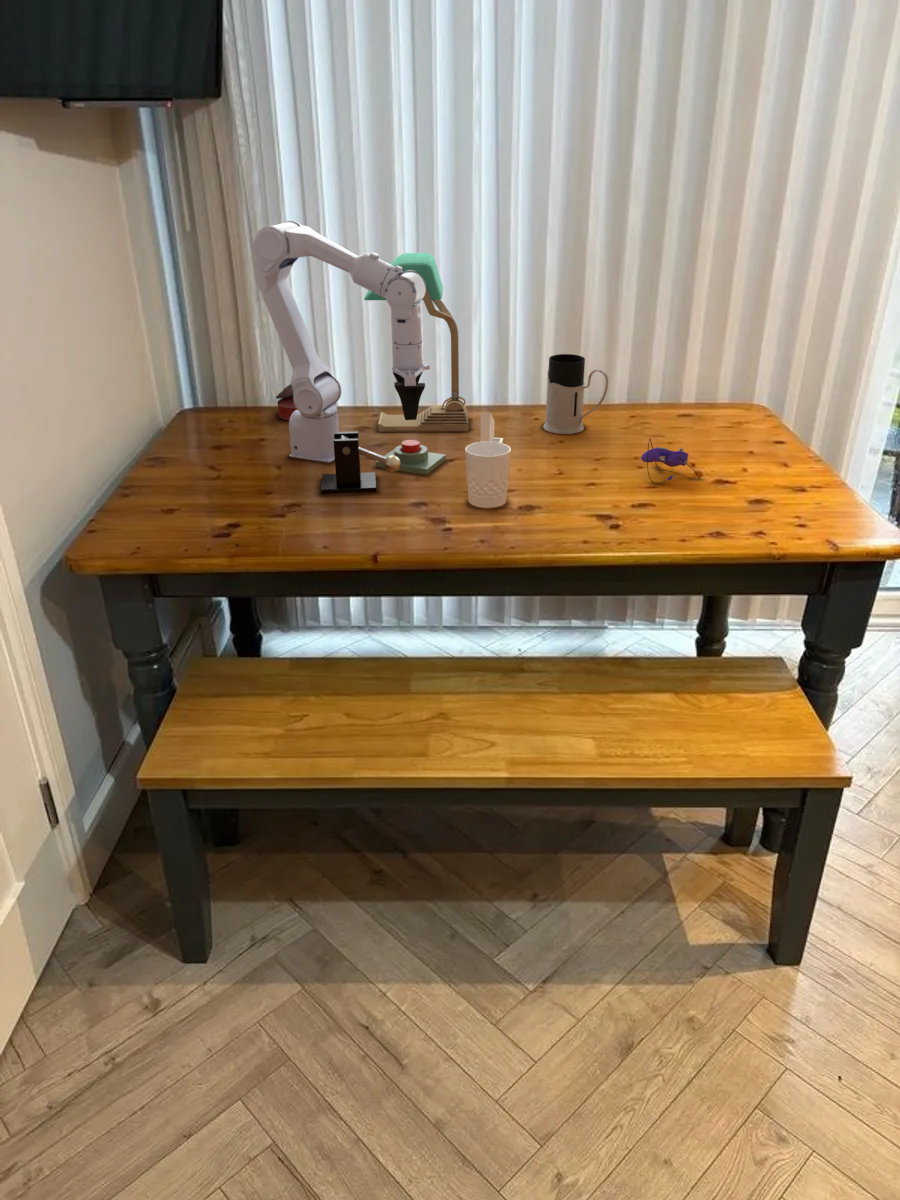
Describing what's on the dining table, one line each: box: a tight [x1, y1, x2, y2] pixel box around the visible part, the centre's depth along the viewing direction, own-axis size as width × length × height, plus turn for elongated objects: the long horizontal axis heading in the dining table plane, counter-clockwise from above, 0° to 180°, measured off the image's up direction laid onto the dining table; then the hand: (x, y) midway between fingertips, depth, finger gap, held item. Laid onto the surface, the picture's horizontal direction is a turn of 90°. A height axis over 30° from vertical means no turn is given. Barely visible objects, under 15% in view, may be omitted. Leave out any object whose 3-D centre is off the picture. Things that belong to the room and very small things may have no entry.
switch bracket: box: [320, 430, 377, 495], centre depth 174 cm, size 10×8×10 cm
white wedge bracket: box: [479, 411, 504, 444], centre depth 187 cm, size 4×10×9 cm
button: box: [400, 439, 421, 453], centre depth 185 cm, size 4×4×2 cm
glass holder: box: [542, 353, 609, 435], centre depth 201 cm, size 9×14×15 cm, turn 54°
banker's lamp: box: [363, 252, 469, 433], centre depth 200 cm, size 16×21×35 cm
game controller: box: [640, 438, 701, 485], centre depth 179 cm, size 10×8×10 cm
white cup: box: [464, 441, 512, 509], centre depth 167 cm, size 8×8×10 cm
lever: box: [340, 435, 400, 473], centre depth 174 cm, size 12×3×3 cm, turn 93°
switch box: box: [375, 444, 447, 475], centre depth 186 cm, size 11×9×3 cm
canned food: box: [275, 383, 298, 421], centre depth 215 cm, size 11×10×10 cm
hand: (409, 413), depth 181 cm, fingers open, 7 cm apart
